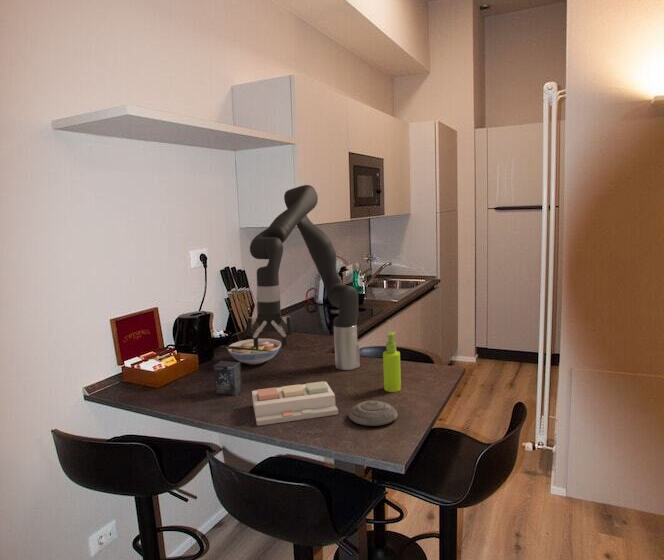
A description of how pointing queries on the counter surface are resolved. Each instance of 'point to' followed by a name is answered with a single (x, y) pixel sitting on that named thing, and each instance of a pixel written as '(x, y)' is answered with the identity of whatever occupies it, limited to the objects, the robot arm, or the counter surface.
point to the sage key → (316, 388)
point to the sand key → (292, 391)
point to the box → (227, 378)
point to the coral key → (267, 394)
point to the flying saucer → (372, 413)
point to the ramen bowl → (253, 350)
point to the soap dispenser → (391, 366)
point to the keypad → (294, 407)
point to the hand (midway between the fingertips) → (270, 348)
